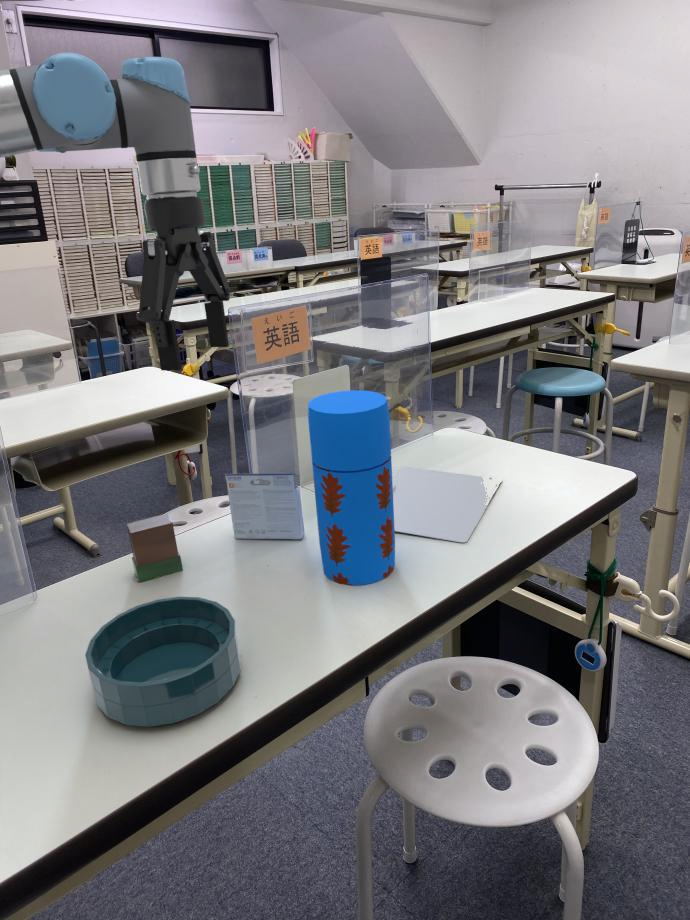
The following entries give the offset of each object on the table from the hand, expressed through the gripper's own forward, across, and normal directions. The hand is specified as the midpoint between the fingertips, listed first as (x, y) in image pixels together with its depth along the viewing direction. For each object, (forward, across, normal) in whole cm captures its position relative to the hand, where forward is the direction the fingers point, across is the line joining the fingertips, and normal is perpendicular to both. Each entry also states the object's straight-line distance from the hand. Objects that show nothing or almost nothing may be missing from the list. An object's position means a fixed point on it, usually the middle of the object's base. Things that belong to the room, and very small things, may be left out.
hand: (197, 357), depth 96 cm
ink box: (+31, +5, -5) cm, 31 cm away
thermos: (+31, -1, -22) cm, 38 cm away
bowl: (+30, -30, -8) cm, 44 cm away
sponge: (+30, -8, +7) cm, 32 cm away
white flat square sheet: (+31, +22, -26) cm, 46 cm away
